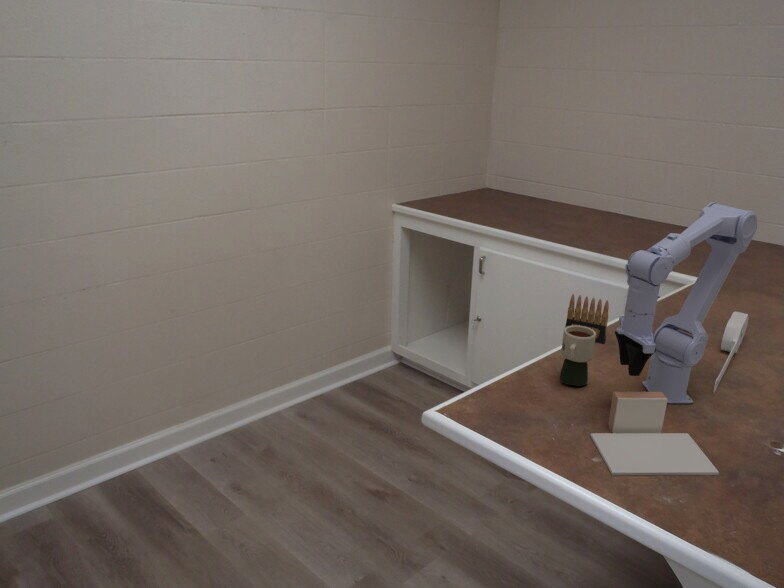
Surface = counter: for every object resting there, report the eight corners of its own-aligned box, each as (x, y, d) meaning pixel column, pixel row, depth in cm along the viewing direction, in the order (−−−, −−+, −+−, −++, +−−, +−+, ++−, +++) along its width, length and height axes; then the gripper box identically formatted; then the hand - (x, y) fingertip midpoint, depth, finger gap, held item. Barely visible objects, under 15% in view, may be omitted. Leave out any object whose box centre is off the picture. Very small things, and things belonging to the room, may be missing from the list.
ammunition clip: (605, 341, 178) (611, 299, 174) (604, 344, 177) (610, 301, 172) (565, 333, 183) (570, 292, 178) (563, 335, 181) (568, 294, 177)
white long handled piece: (693, 397, 157) (712, 403, 154) (699, 367, 153) (718, 372, 151) (728, 332, 184) (744, 336, 182) (734, 305, 181) (750, 309, 179)
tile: (607, 425, 140) (613, 391, 137) (655, 425, 140) (661, 391, 137) (612, 433, 137) (618, 399, 134) (661, 433, 137) (667, 399, 134)
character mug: (565, 369, 163) (572, 319, 158) (595, 376, 159) (602, 326, 155) (550, 387, 154) (556, 335, 149) (581, 396, 151) (588, 343, 146)
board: (590, 435, 136) (590, 433, 135) (687, 435, 136) (687, 433, 136) (612, 475, 124) (612, 472, 123) (718, 475, 124) (719, 472, 124)
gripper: (608, 296, 142) (599, 354, 147) (634, 323, 129) (623, 386, 134) (641, 296, 143) (631, 354, 147) (670, 324, 129) (658, 386, 134)
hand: (629, 369), depth 141 cm, fingers open, 4 cm apart
